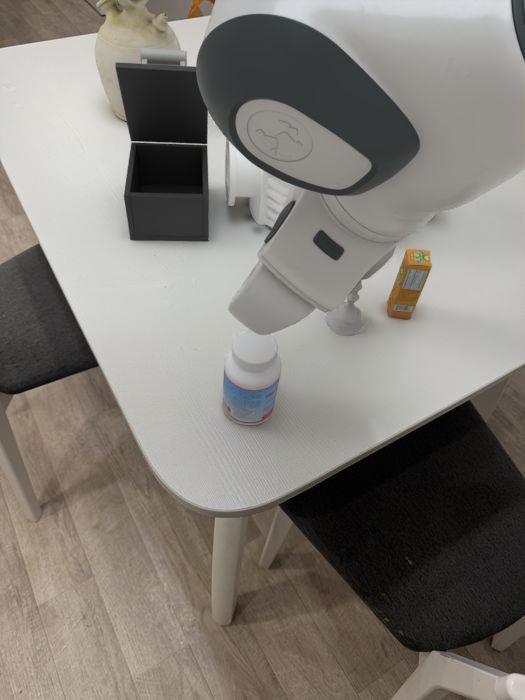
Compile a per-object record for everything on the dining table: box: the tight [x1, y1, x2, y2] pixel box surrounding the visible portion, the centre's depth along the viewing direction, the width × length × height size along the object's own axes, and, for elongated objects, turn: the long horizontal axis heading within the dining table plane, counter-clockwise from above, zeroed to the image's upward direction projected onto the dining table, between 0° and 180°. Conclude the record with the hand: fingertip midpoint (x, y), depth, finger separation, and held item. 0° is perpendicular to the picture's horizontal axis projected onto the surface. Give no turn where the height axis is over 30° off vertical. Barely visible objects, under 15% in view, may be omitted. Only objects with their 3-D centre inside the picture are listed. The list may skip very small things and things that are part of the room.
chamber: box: [123, 141, 210, 242], centre depth 78 cm, size 14×12×8 cm
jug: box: [94, 0, 182, 122], centre depth 90 cm, size 15×16×25 cm
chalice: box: [325, 244, 398, 336], centre depth 63 cm, size 7×7×18 cm
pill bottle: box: [222, 328, 282, 426], centre depth 56 cm, size 6×6×11 cm
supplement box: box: [386, 248, 433, 320], centre depth 68 cm, size 3×3×10 cm
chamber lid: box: [115, 48, 209, 145], centre depth 72 cm, size 14×12×5 cm
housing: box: [224, 137, 292, 229], centre depth 81 cm, size 35×22×14 cm, turn 96°
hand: (277, 253), depth 49 cm, fingers open, 8 cm apart
